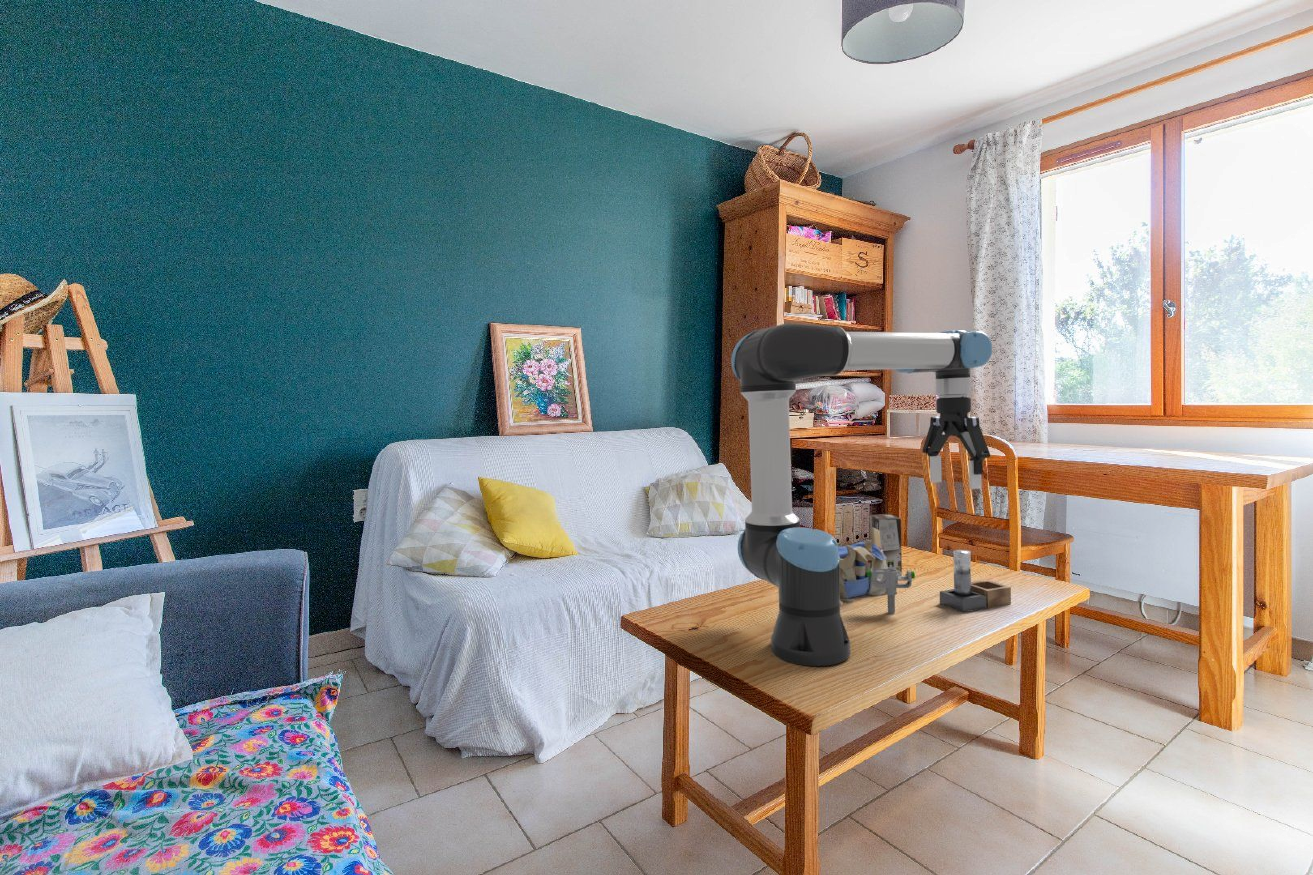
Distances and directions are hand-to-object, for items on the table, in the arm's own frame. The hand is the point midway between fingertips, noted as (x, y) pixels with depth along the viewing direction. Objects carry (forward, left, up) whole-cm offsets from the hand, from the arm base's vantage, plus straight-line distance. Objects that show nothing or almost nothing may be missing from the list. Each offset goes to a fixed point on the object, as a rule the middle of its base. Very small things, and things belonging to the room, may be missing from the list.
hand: (954, 485), depth 151 cm
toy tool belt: (-19, +17, -29) cm, 38 cm away
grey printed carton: (+3, +29, -29) cm, 41 cm away
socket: (-1, -3, -28) cm, 28 cm away
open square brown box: (+6, -3, -28) cm, 29 cm away
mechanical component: (-19, 0, -28) cm, 34 cm away
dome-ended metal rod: (-1, -3, -28) cm, 28 cm away
